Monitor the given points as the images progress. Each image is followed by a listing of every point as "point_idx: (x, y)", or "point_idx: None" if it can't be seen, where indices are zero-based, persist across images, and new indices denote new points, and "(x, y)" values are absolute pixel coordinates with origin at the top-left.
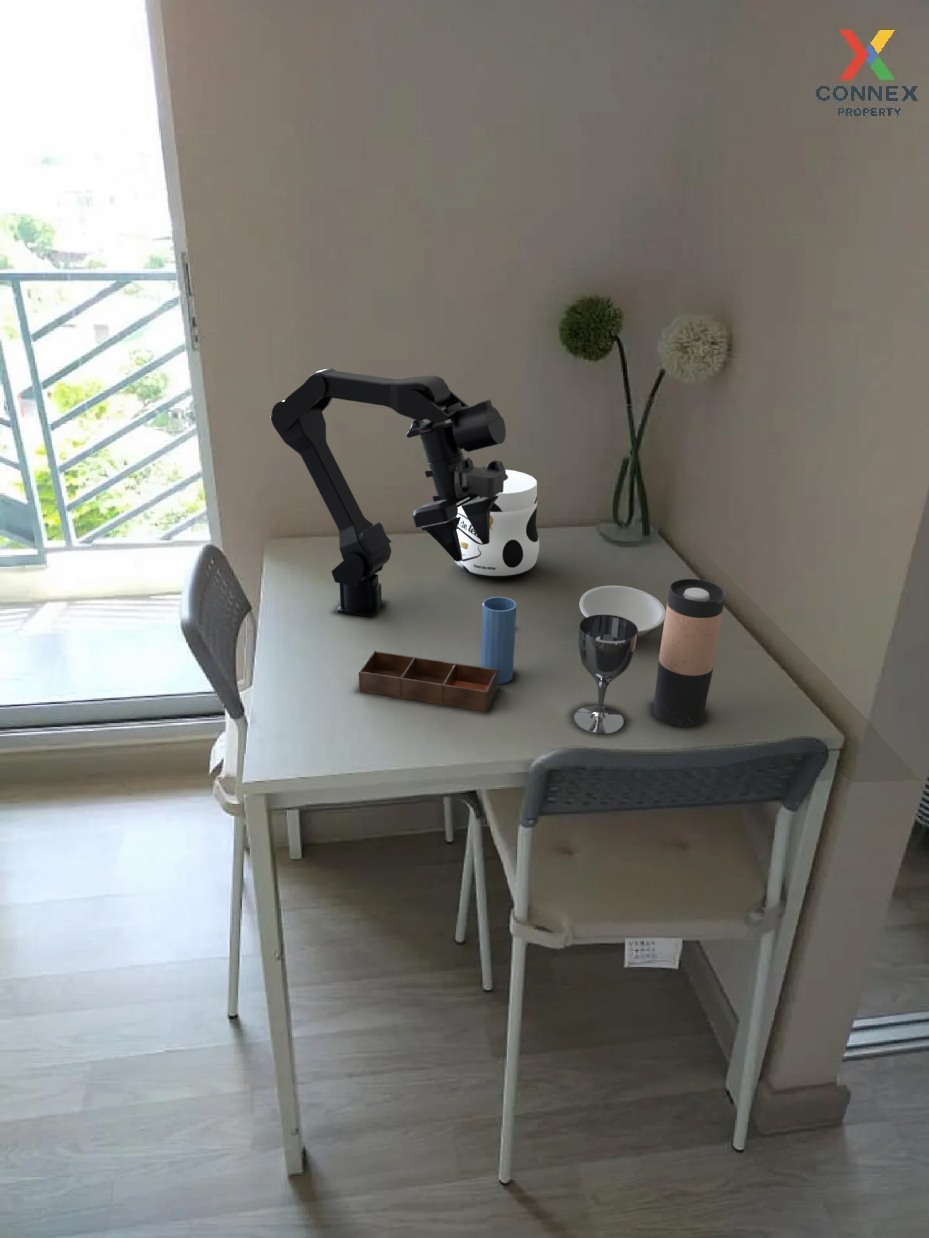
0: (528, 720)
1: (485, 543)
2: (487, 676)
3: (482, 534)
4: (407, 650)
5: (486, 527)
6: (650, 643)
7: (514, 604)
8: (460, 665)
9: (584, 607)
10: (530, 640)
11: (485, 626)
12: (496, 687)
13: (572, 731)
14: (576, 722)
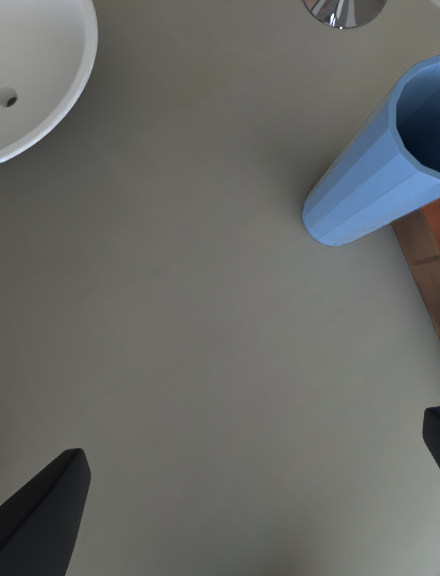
0: None
1: (85, 464)
2: None
3: (56, 529)
4: (368, 428)
5: (7, 546)
6: None
7: (419, 70)
8: (437, 244)
9: (21, 137)
10: (162, 240)
11: None
12: None
13: (406, 5)
14: (380, 10)
